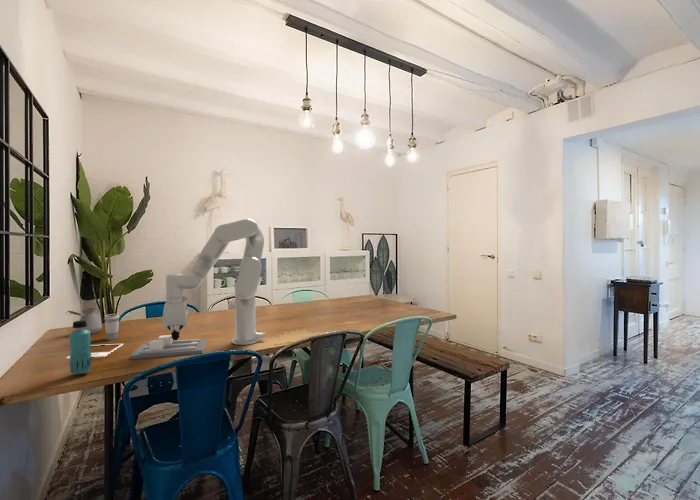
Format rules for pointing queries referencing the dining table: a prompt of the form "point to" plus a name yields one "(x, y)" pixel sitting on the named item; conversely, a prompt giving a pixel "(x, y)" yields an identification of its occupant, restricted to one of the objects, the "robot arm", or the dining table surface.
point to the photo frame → (101, 354)
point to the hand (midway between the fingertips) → (175, 339)
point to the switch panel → (171, 349)
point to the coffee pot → (89, 320)
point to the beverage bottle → (80, 348)
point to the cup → (111, 326)
